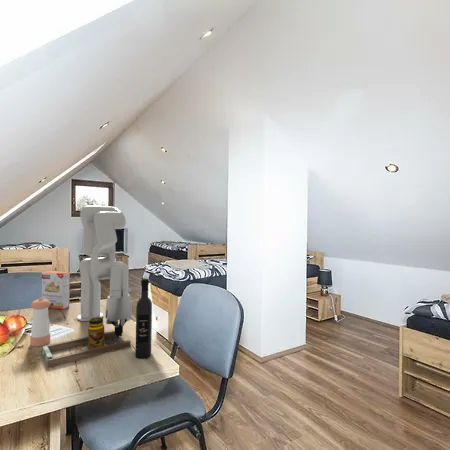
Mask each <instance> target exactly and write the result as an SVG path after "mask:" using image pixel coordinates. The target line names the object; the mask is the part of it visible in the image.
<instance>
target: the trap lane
mask: <svg viewBox="0 0 450 450" xmlns="http://www.w3.org/2000/svg"><path fill="white" fill-rule="evenodd" d="M104 344H106V345H105V346H101V347H97V348H92V349H88V350H80V351H76V352H73V353H67V354H63V355H59V356H54V357H53V354H52V353H53V352H58V351H61V350H65V349H69V348H74V347H78V346H83V345H89V344H88V336H83V337H79V338H75V339H70V340H65V341H60V342H55V343H49V344H46V345H43V346H41V354H42V356H43V358H44V359H43V360H44V361H45V362H46V364H47V368H52V367H56V366H60V365H65V364H69V363H72V362H76V361H79V360H80V361H81V360H83V359H88V358H91V357H96V356H99V355H104V354H107V353H111V352H116V351H120V350H124V349H127V348H131V347H132V346H131V344H132V343H131V339H127V340H124V339H122V337H121V336H119V337H118V336H116V335H115V330H112V331H107V332H104Z"/></svg>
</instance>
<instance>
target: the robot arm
mask: <svg viewBox="0 0 450 450" xmlns="http://www.w3.org/2000/svg"><path fill="white" fill-rule="evenodd" d="M79 214H80V220H81V224H82V227H83V236H82V237H83V238H82V239H83V241H82V243H83V244H82V251H83V253H84V255H86V256H89V257H88V258H84V259H82V260H80V262H79V266H78V267H79V275H80V314H78V315H77V316H76V319H77V320H78V321H80V322H89V320H90V319H92V318H97V317H100V318H102V319H103V317H105V324H106V325H113V326H114V331H115V335H116V336H118V337H122V336H123V333H124V326H125V324H126V323H127V322H129V321H130V320H132V314H133V312H132V308H133V307H132V300H131V295H130V293H131V292H132V288H130V287H129V270H130V269H129V265H128V264H127V263H125V262H123V261H122V260H121V261H120V260H118V261H117V260H116V243H117V242H118V236H117V232H116V230H122V229H124V228H125V227H126V224H127V221H126V217H125V214H124V213H123V211H121V210H120V209H118V207H115V206H111V205H110V206H109V205H85V206H83V207H82V208H80V213H79ZM99 256H100V257H99ZM101 256H103V257H101ZM100 280H109V295H107V298H106V303H105V312H104V313H105V315H104V313H102V312H101V294H102V293H101V291H102V290H101V287H102V286H101V285H102V284H101V282H100Z"/></svg>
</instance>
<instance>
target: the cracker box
mask: <svg viewBox="0 0 450 450" xmlns="http://www.w3.org/2000/svg"><path fill="white" fill-rule="evenodd" d="M70 275H71V273H70V271H57V270H47V271H43V272H41V298H43V299H47V300H49V301H50V306H49V307H48V309H53V310H65V309H67V308H69V307H70V284H71V283H70V280H71V276H70Z"/></svg>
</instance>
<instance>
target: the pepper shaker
mask: <svg viewBox="0 0 450 450" xmlns="http://www.w3.org/2000/svg"><path fill="white" fill-rule="evenodd" d="M30 306H31V309H32V322H31V328H30V329H31V331H30V332H31V335H30V336H29V337H30V339H29V340H30V341H29V342H30V343H29V344H30V346H31V347H42V346H45V345H49V344H51V333H50V329H51V328H50V327H51V326H50V319H49V318H50V317H49V308H48V307H49V306H50V301H49V300H47V299H43V298H42V297H39V298H38V299H35V300H33V301H32V302H31V304H30Z"/></svg>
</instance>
